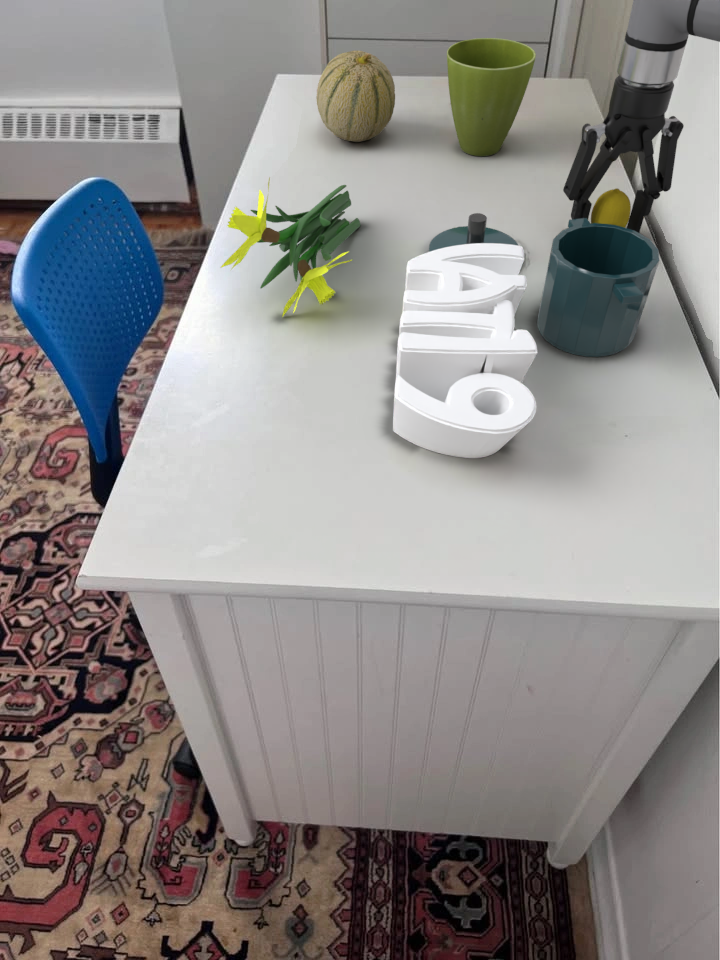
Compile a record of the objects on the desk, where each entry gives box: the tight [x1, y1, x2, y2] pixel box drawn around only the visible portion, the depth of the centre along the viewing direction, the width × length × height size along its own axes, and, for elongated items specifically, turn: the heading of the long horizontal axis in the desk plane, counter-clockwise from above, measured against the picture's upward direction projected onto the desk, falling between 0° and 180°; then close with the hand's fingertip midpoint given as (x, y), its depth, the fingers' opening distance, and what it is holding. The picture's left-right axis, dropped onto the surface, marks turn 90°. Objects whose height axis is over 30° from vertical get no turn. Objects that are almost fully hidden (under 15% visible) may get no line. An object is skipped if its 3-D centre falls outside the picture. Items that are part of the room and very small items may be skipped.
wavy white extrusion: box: [392, 243, 538, 459], centre depth 86 cm, size 35×16×10 cm, turn 171°
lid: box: [428, 212, 520, 252], centre depth 106 cm, size 14×14×6 cm
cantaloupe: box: [315, 50, 396, 143], centre depth 131 cm, size 15×15×15 cm
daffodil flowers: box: [220, 176, 362, 318], centre depth 100 cm, size 17×15×35 cm
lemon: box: [590, 188, 632, 228], centre depth 108 cm, size 6×6×8 cm
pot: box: [536, 218, 660, 358], centre depth 92 cm, size 13×18×12 cm
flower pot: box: [446, 37, 537, 157], centre depth 127 cm, size 15×15×16 cm
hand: (604, 237), depth 111 cm, fingers open, 8 cm apart
